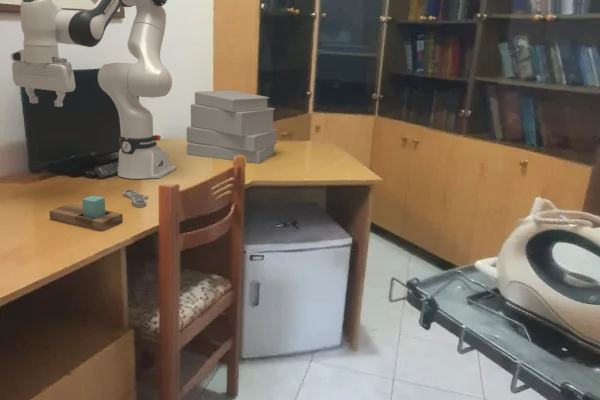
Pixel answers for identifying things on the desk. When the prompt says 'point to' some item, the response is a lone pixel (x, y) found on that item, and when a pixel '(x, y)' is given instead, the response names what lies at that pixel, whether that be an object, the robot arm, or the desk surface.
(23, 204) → the desk surface
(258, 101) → the book stack
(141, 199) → the bracket
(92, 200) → the teal square prism
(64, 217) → the brown frame
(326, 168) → the desk surface
